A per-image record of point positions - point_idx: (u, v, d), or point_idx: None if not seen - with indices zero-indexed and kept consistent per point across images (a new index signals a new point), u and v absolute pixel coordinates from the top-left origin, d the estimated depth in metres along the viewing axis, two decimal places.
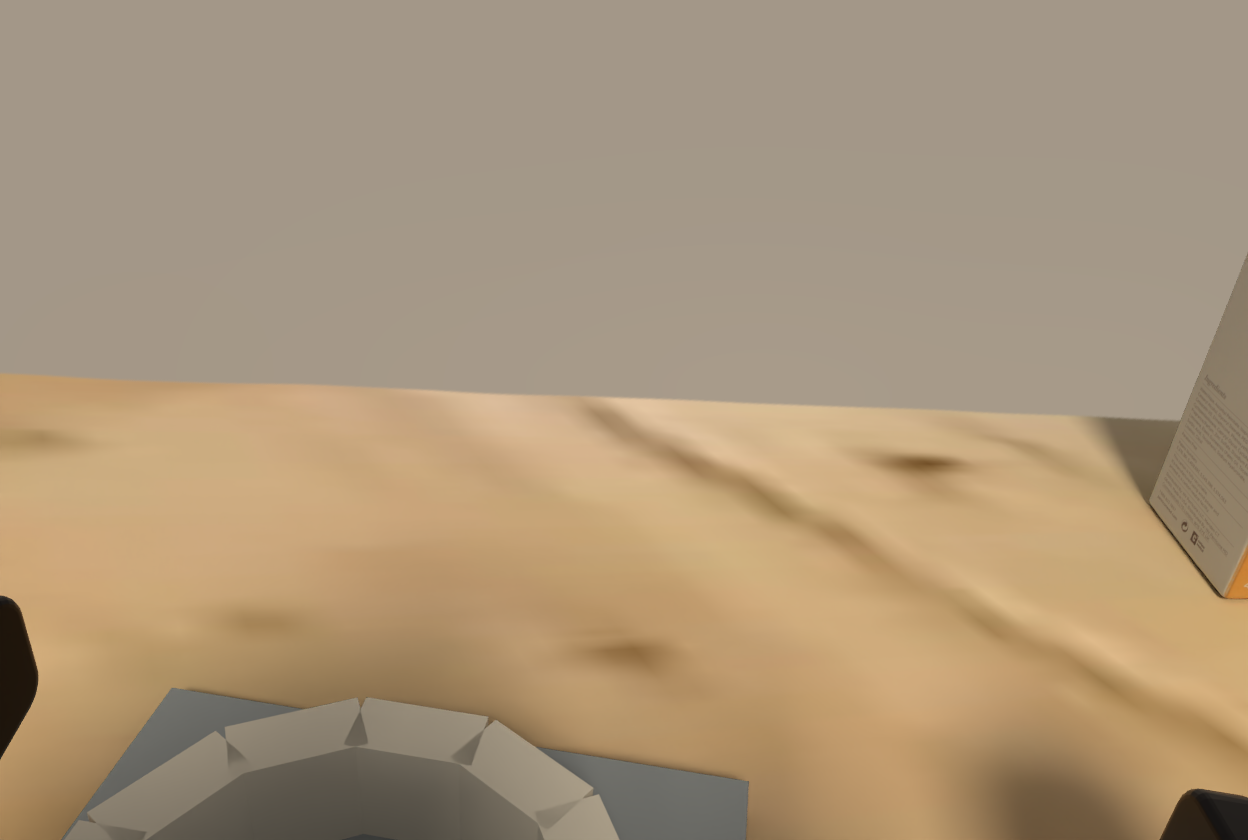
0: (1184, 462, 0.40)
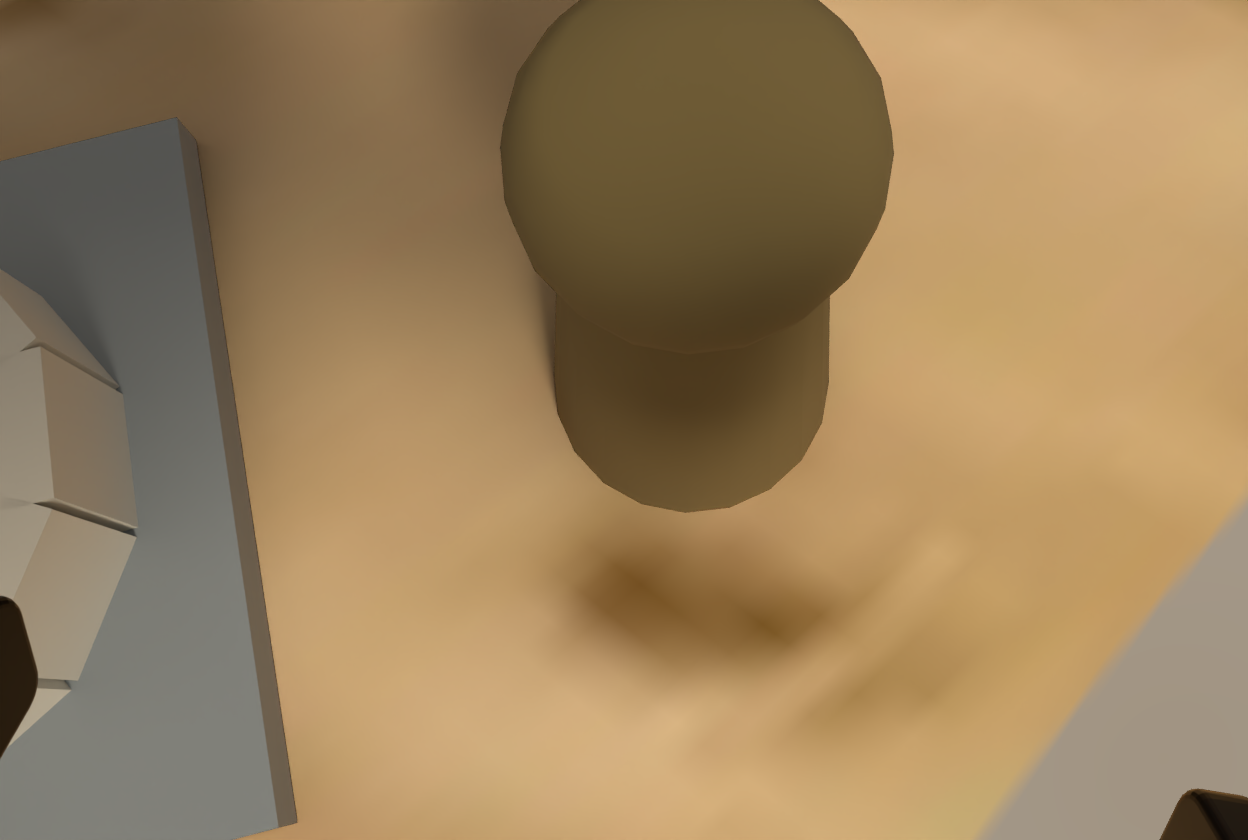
0: None
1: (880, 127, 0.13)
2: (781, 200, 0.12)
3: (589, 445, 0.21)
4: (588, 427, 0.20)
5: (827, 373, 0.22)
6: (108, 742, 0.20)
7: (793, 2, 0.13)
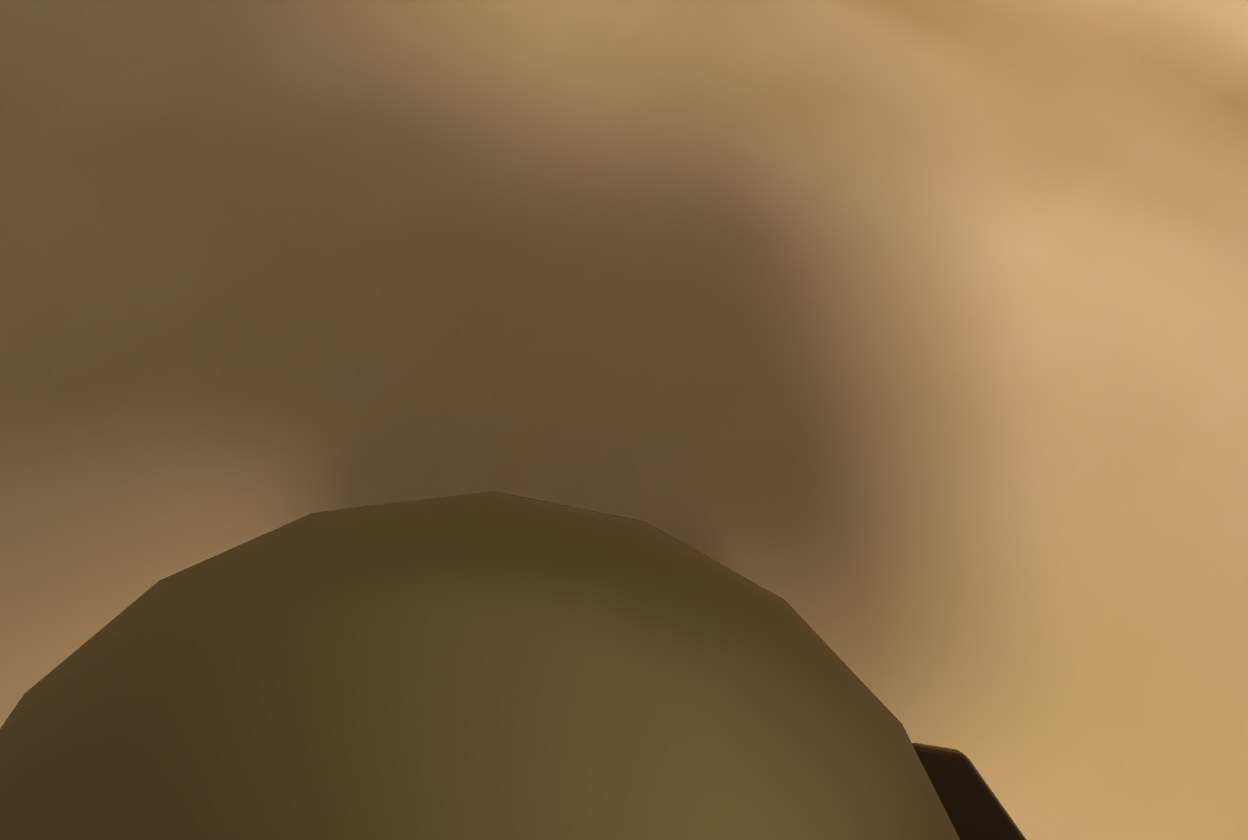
0: None
1: None
2: None
3: None
4: None
5: None
6: None
7: (712, 772, 0.04)
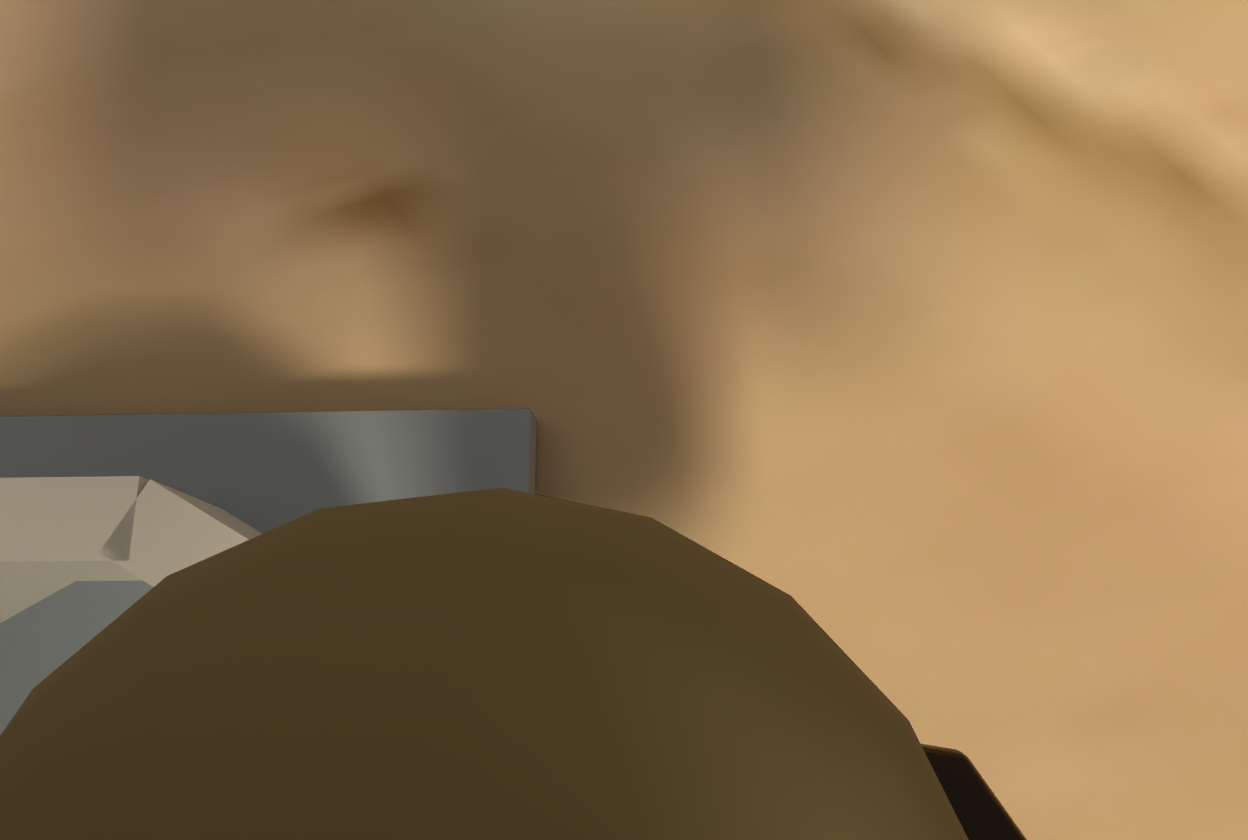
0: None
1: None
2: None
3: None
4: None
5: None
6: None
7: (720, 766, 0.04)
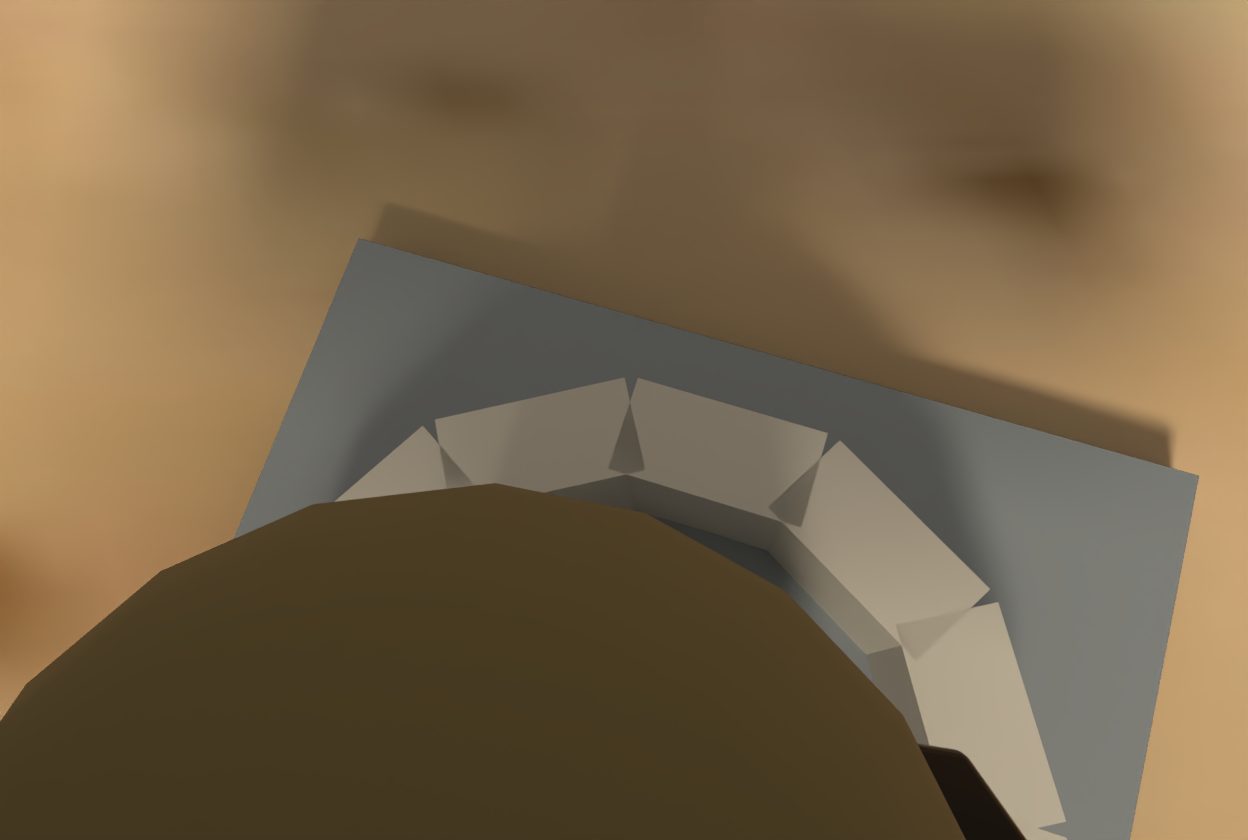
0: None
1: None
2: None
3: None
4: None
5: None
6: None
7: (712, 758, 0.04)
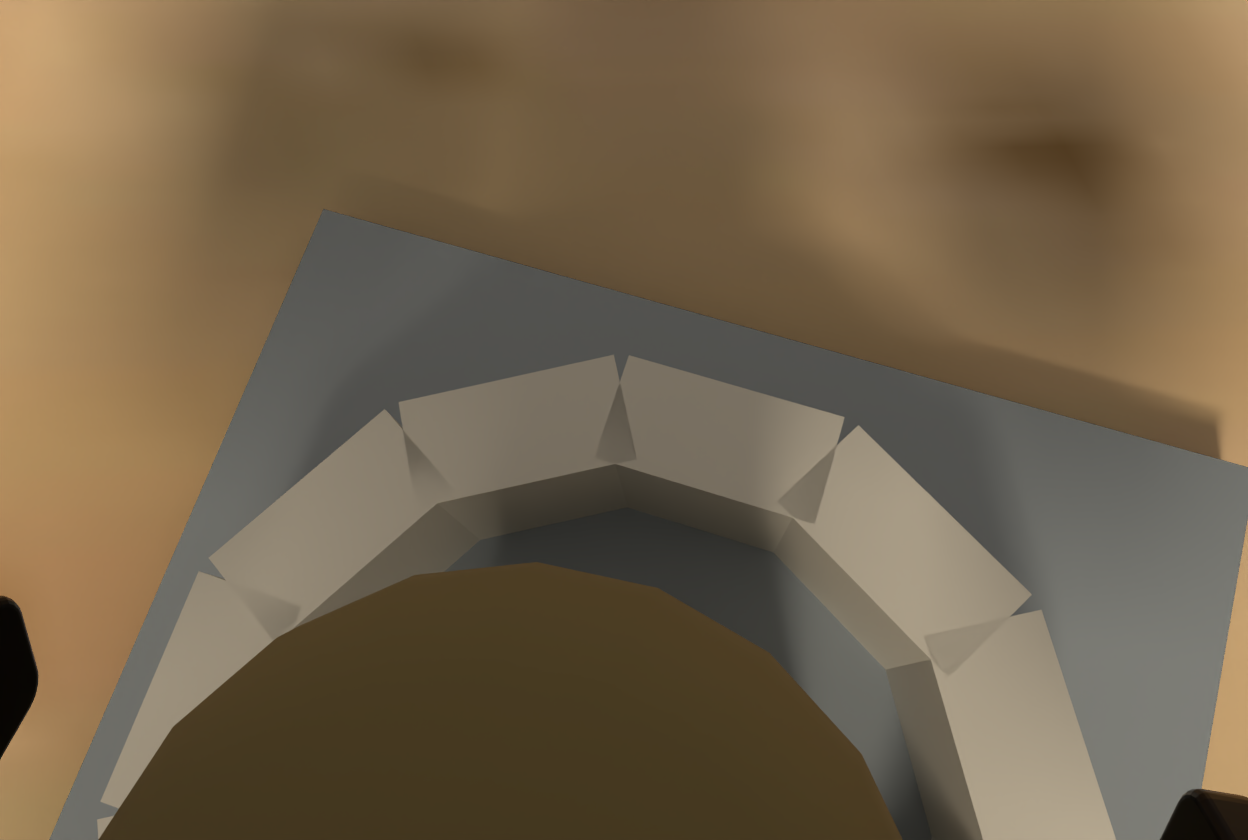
0: None
1: None
2: None
3: None
4: None
5: None
6: None
7: (709, 795, 0.05)
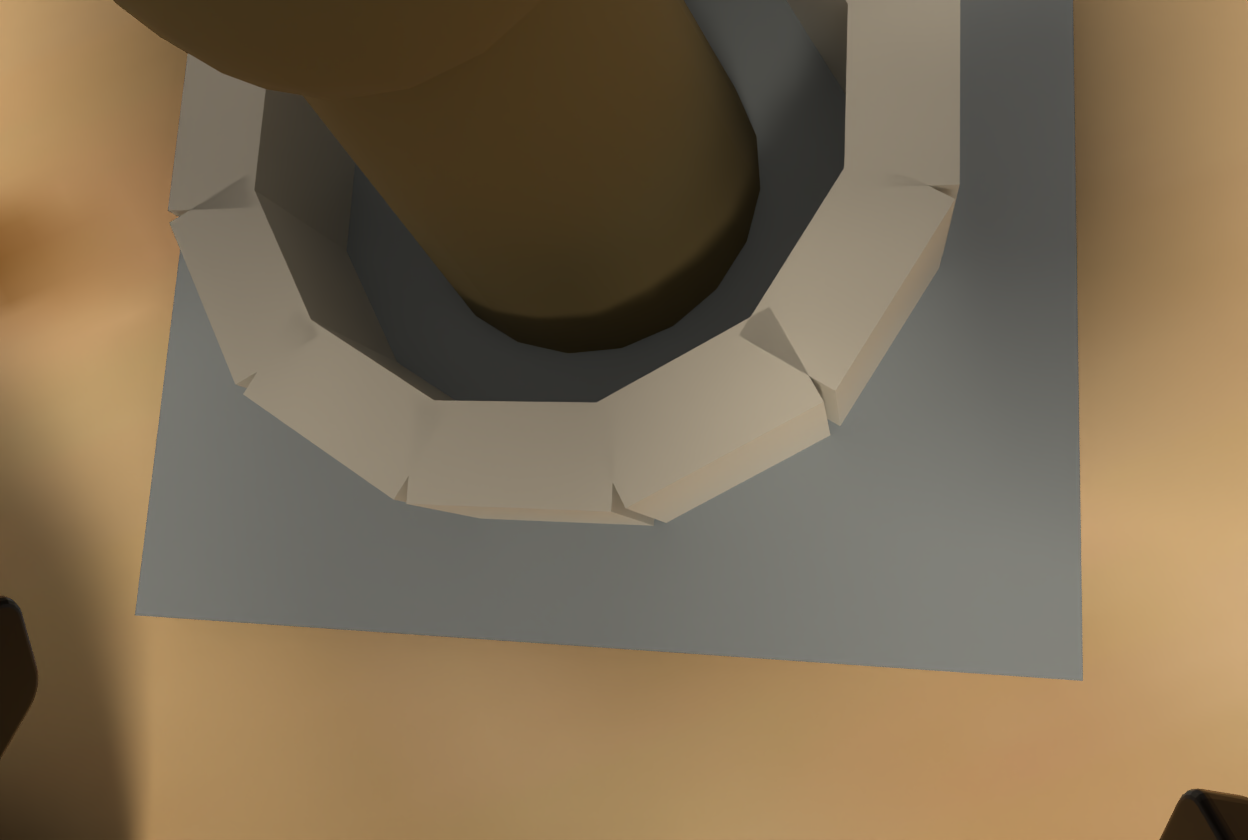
0: None
1: None
2: None
3: (473, 298, 0.17)
4: (452, 274, 0.16)
5: (742, 120, 0.17)
6: (870, 511, 0.16)
7: None
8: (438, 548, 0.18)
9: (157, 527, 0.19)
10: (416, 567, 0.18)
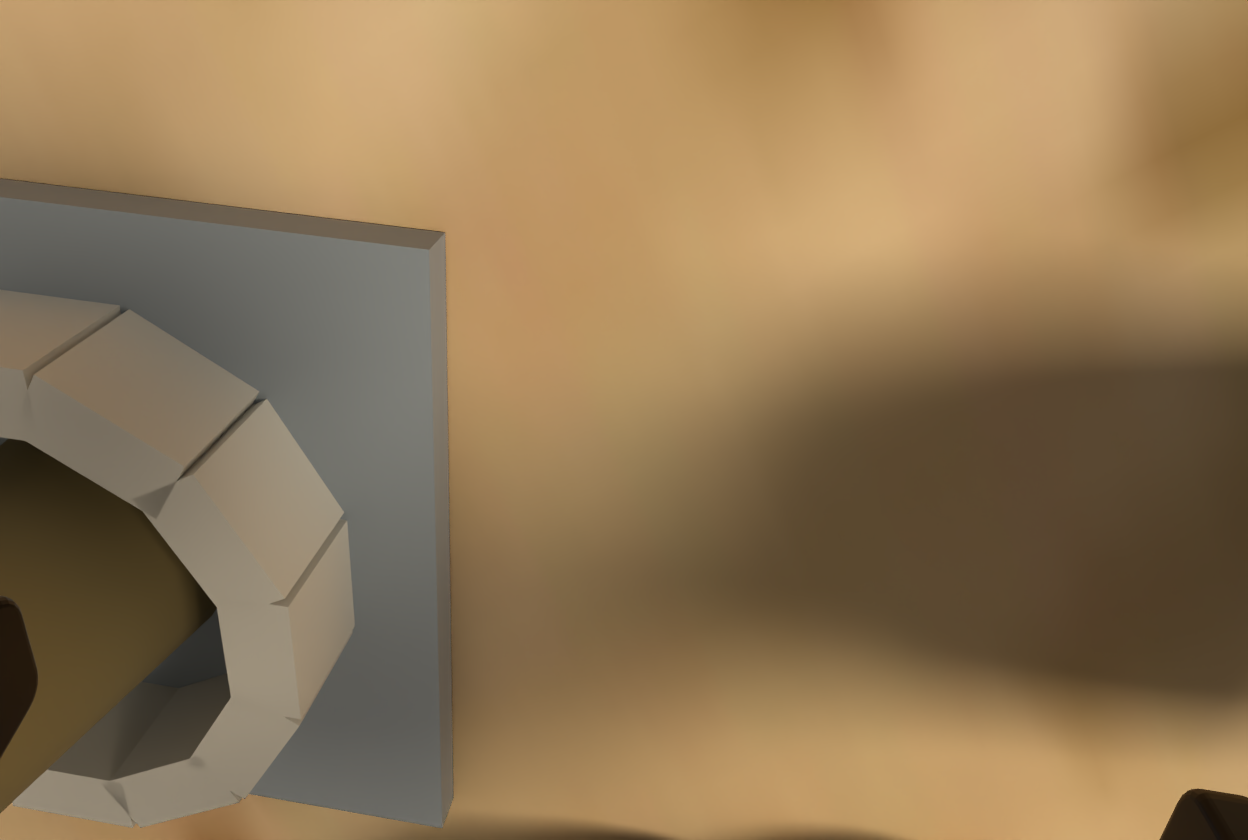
0: None
1: None
2: None
3: (182, 638, 0.23)
4: (153, 665, 0.22)
5: (27, 451, 0.22)
6: (319, 379, 0.21)
7: None
8: (378, 653, 0.24)
9: (383, 811, 0.27)
10: (392, 667, 0.25)
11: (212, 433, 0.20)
